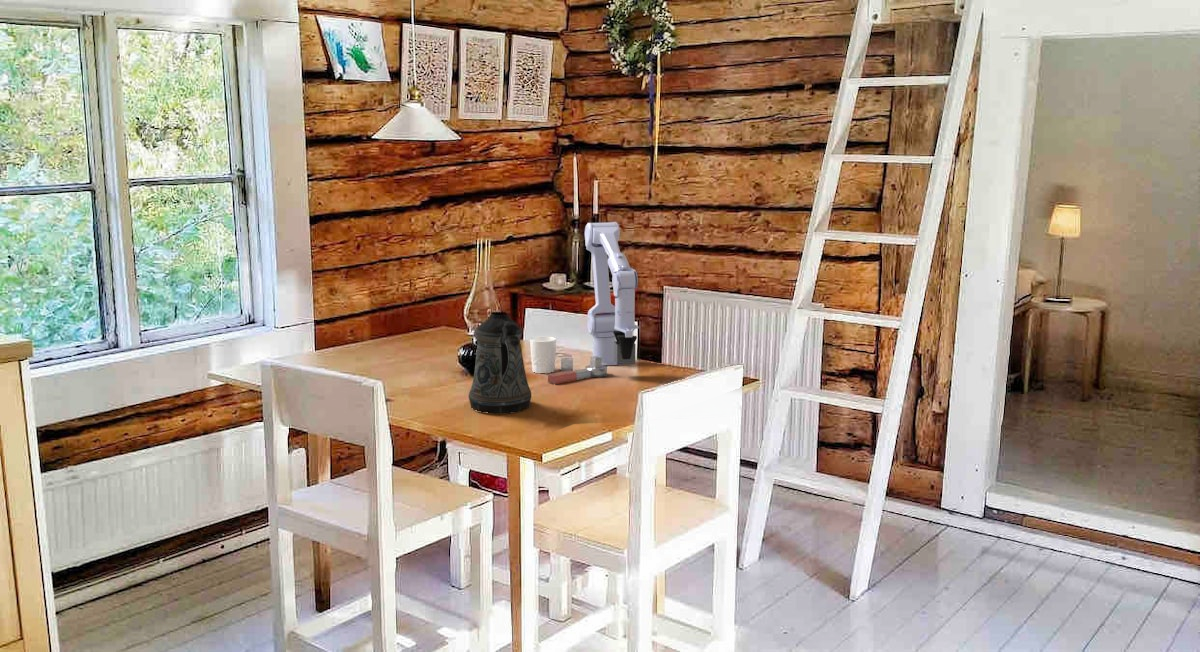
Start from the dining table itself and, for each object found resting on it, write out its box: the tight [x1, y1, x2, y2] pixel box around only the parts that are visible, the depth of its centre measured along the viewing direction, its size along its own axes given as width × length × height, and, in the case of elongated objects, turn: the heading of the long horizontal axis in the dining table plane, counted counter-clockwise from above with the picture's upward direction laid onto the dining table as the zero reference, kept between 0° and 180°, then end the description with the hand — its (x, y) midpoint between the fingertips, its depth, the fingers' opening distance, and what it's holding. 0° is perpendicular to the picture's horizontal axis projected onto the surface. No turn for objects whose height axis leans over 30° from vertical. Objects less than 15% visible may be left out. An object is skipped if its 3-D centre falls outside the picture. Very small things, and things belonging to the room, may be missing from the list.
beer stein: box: [468, 311, 532, 414], centre depth 260 cm, size 16×19×25 cm
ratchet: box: [547, 356, 608, 385], centre depth 293 cm, size 20×6×6 cm, turn 129°
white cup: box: [529, 336, 557, 374], centre depth 303 cm, size 8×8×10 cm
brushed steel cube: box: [614, 341, 637, 366], centre depth 294 cm, size 5×5×6 cm
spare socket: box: [560, 357, 574, 372], centre depth 302 cm, size 4×4×4 cm
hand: (624, 356), depth 294 cm, fingers closed on brushed steel cube, 5 cm apart
